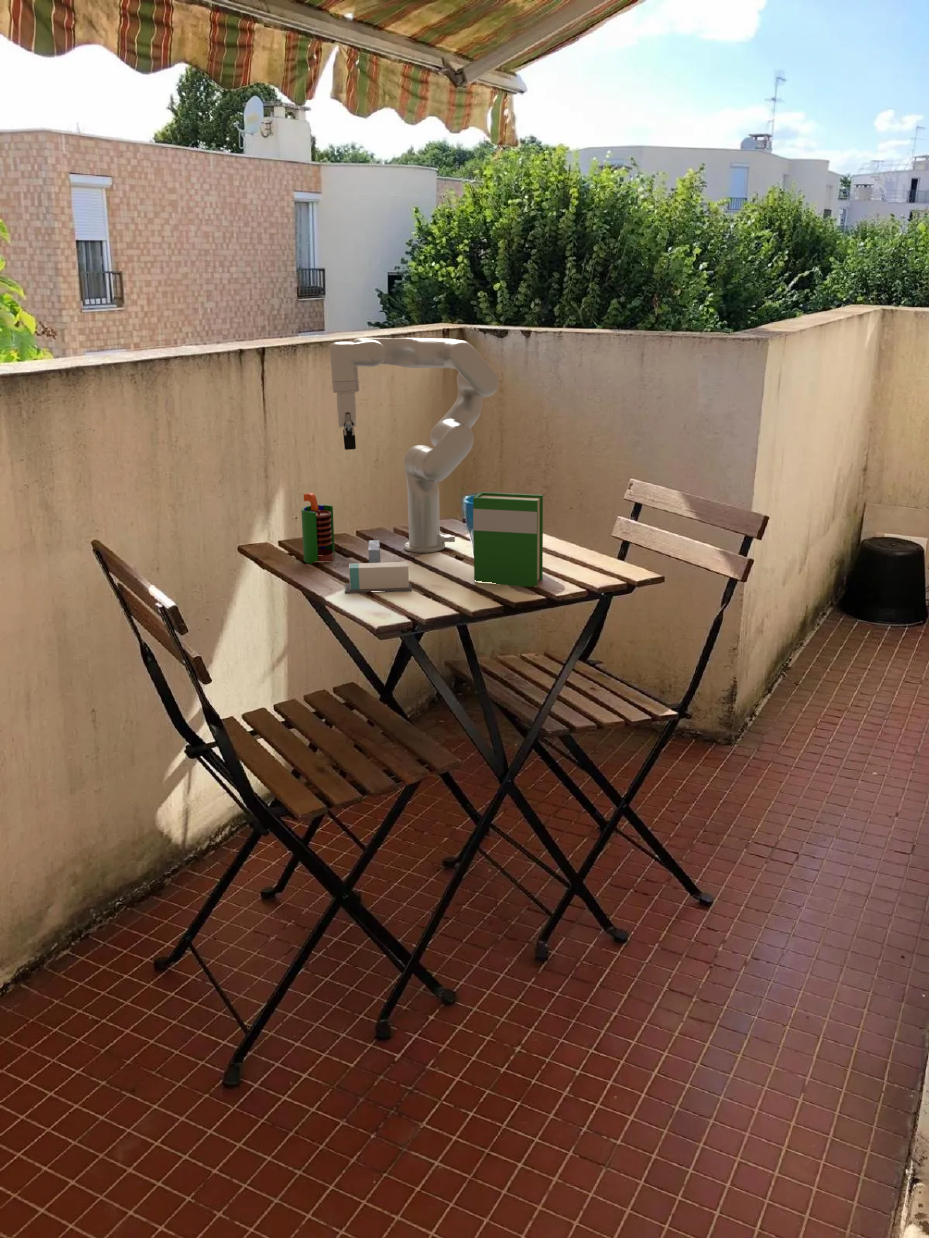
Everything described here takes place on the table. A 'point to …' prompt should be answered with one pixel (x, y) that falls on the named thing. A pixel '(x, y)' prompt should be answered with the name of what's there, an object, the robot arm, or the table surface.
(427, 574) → the table surface
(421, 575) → the table surface
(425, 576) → the table surface
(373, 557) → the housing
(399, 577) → the white and teal box
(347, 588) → the mat
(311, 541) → the motor
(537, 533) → the hardback book
